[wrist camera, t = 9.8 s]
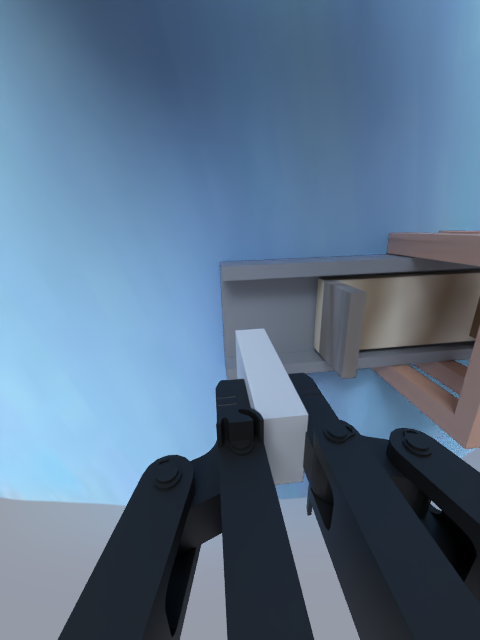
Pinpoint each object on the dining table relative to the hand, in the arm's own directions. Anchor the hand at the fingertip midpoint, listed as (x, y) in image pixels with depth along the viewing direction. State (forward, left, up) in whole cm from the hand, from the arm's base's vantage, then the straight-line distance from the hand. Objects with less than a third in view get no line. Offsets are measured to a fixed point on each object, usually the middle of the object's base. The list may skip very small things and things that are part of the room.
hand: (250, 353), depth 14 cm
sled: (+16, -1, -8) cm, 18 cm away
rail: (+13, -1, -9) cm, 16 cm away
